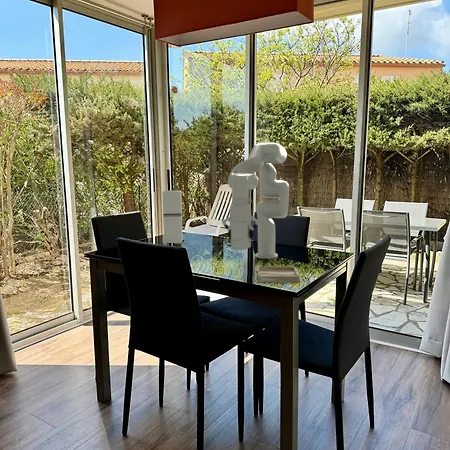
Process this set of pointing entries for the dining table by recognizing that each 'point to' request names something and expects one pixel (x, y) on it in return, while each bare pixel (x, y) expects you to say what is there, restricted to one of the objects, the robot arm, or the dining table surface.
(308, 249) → the dining table surface
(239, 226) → the supplement box
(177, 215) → the white tall box
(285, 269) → the tray
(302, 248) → the dining table surface
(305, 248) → the dining table surface
